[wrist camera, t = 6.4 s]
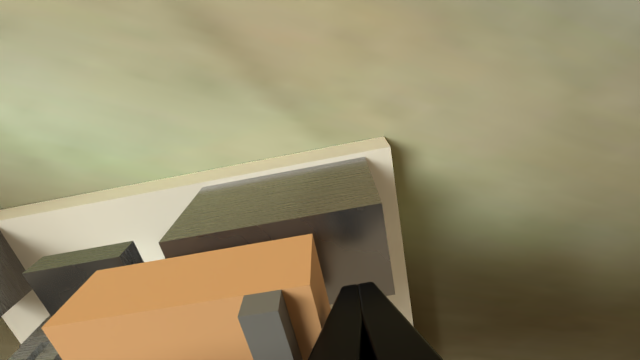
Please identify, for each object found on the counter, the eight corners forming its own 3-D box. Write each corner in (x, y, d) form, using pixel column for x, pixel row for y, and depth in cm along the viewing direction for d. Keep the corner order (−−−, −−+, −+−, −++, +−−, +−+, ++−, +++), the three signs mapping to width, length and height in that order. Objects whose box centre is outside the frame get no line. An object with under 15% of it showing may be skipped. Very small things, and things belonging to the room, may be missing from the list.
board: (130, 453, 23) (118, 480, 21) (-26, 214, 16) (-60, 231, 14) (421, 416, 21) (428, 443, 20) (383, 136, 14) (390, 146, 13)
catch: (139, 350, 10) (85, 443, 8) (96, 270, 9) (19, 350, 7) (333, 321, 10) (337, 410, 8) (312, 233, 9) (308, 305, 6)
